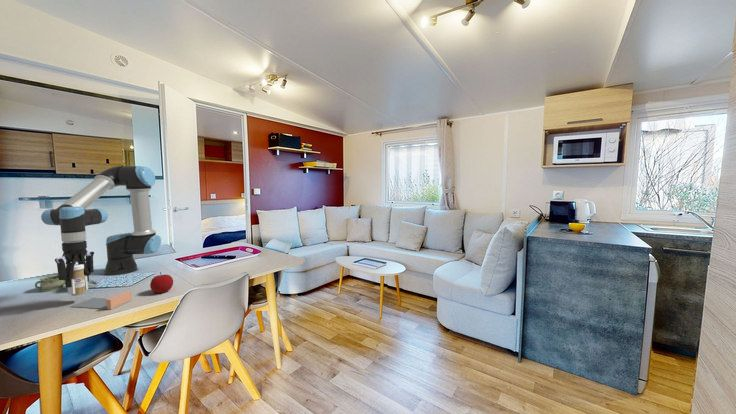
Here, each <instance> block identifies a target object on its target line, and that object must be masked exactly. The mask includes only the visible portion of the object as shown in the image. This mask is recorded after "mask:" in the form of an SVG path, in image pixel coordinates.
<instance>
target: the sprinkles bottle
mask: <svg viewBox="0 0 736 414" xmlns="http://www.w3.org/2000/svg"><path fill="white" fill-rule="evenodd" d="M72 279H74V283H75V294H70V295H71V296H80V295H83V294H85V293H86V290H85V279H84V265H83V264H78V263H76V264H75V265H74V270H73V276H72Z"/></svg>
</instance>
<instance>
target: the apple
mask: <svg viewBox="0 0 736 414" xmlns="http://www.w3.org/2000/svg"><path fill="white" fill-rule="evenodd" d="M159 274H160V275H156V276H154V277H153V278H152V279H150V280H151V281H150V284H149V286H150V290H151V291H152V292H153V293H155V294H163V293H166V292H168V291H170V290H171V289H172V288H173V286H174V279H173V277H172V276H171V275H169V274H162V273H161V272H159Z"/></svg>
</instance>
